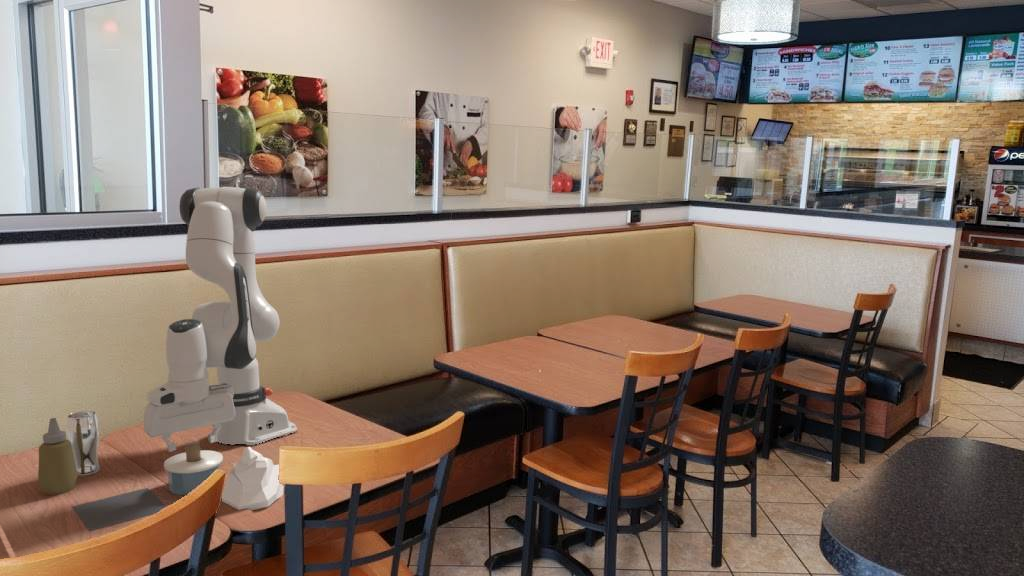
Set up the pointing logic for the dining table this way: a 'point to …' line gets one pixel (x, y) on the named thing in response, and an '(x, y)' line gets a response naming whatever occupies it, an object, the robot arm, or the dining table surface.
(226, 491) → the white faceted lump
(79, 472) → the beer glass
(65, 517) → the dining table surface
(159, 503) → the mat
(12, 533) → the dining table surface
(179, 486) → the bowl
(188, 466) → the lid
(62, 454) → the squeeze bottle
